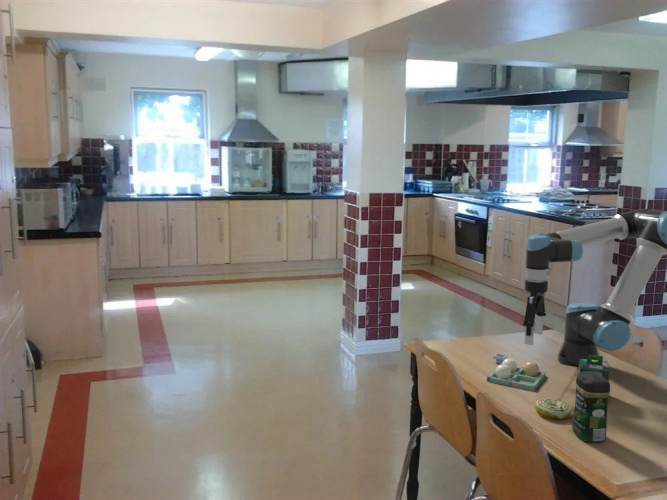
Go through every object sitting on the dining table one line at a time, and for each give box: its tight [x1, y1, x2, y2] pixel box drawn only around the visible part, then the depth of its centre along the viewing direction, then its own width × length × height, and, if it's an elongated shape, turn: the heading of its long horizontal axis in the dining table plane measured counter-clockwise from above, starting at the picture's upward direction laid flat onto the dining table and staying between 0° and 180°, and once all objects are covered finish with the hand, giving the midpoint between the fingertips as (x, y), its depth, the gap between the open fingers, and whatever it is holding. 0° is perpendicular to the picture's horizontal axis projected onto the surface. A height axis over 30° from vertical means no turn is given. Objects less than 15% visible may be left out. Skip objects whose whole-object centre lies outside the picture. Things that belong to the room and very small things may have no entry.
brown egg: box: [522, 361, 540, 377], centre depth 220 cm, size 5×5×5 cm
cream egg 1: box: [501, 357, 518, 373], centre depth 223 cm, size 5×5×5 cm
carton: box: [486, 363, 547, 392], centre depth 218 cm, size 16×16×2 cm
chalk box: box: [577, 355, 611, 382], centre depth 205 cm, size 9×9×15 cm
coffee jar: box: [571, 371, 611, 444], centre depth 176 cm, size 10×8×19 cm
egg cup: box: [492, 352, 508, 364], centre depth 235 cm, size 4×4×4 cm
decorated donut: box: [534, 397, 573, 421], centre depth 192 cm, size 10×11×4 cm
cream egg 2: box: [494, 364, 511, 380], centre depth 217 cm, size 5×5×5 cm
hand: (533, 338), depth 217 cm, fingers open, 13 cm apart
